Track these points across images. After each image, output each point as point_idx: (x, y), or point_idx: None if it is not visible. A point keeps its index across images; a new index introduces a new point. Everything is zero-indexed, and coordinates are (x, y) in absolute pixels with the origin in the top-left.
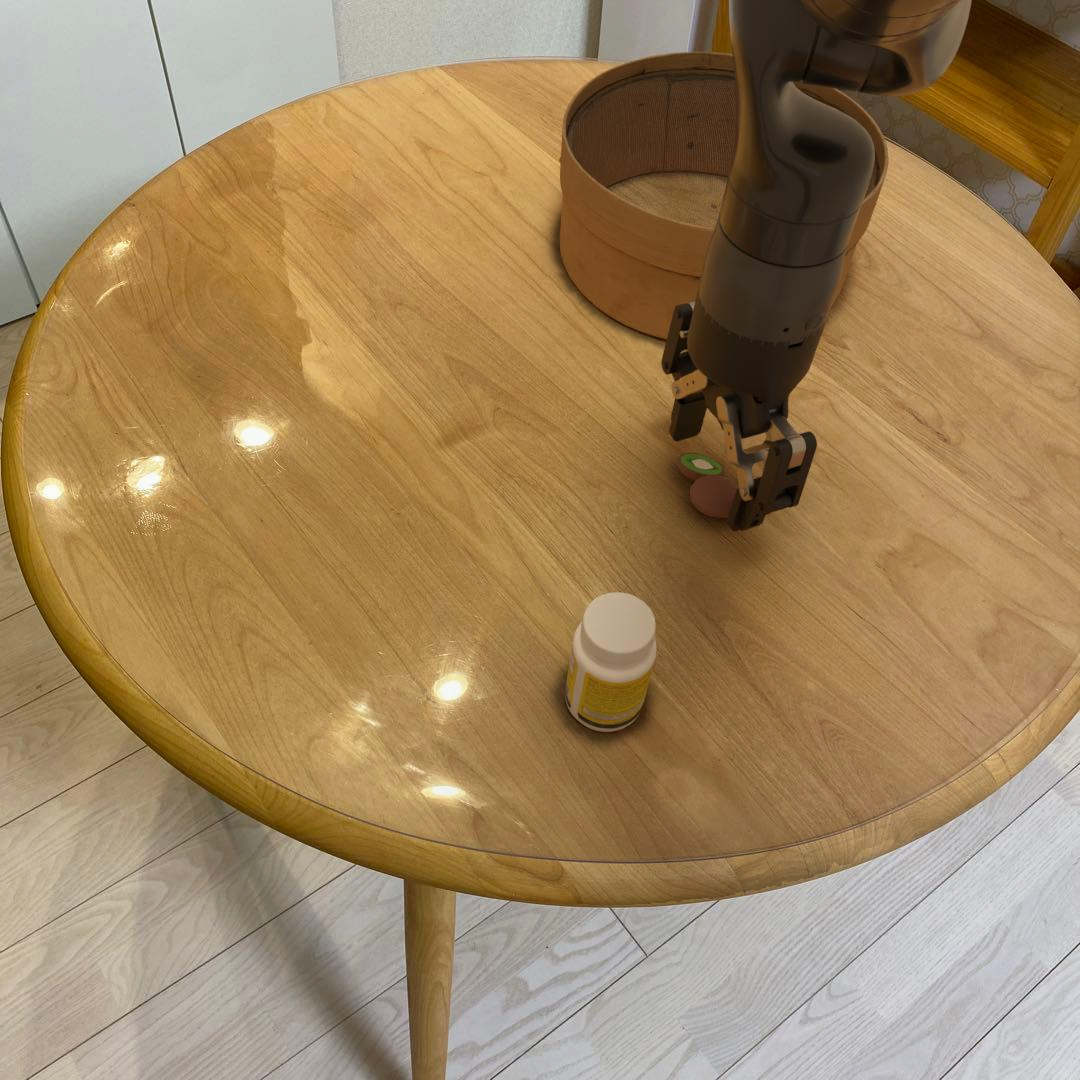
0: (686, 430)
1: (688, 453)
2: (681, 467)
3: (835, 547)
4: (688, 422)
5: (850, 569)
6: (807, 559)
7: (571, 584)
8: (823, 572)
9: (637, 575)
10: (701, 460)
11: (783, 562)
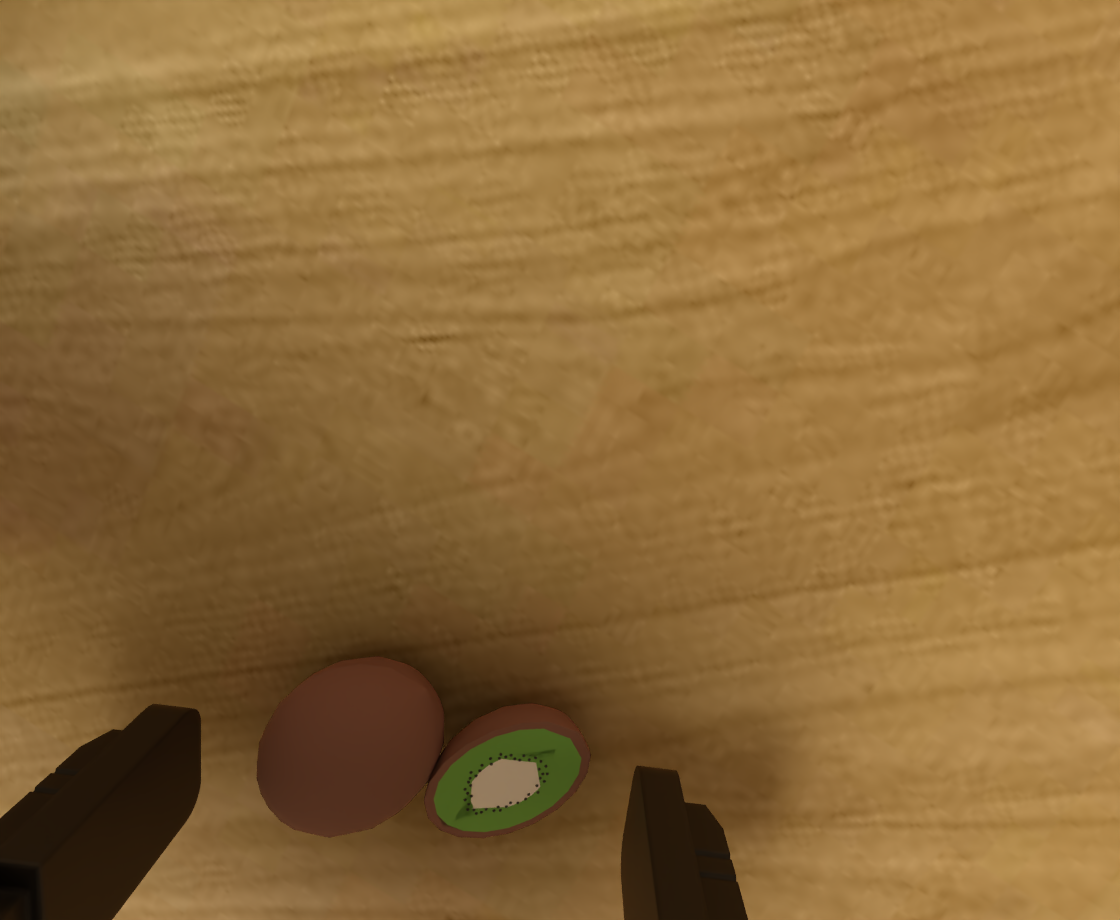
0: (633, 837)
1: (582, 770)
2: (522, 714)
3: None
4: (636, 878)
5: None
6: None
7: (266, 53)
8: None
9: (214, 316)
10: (527, 791)
11: None
